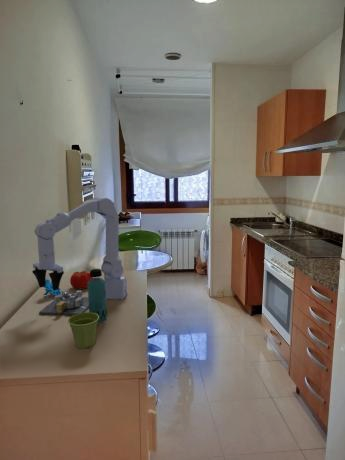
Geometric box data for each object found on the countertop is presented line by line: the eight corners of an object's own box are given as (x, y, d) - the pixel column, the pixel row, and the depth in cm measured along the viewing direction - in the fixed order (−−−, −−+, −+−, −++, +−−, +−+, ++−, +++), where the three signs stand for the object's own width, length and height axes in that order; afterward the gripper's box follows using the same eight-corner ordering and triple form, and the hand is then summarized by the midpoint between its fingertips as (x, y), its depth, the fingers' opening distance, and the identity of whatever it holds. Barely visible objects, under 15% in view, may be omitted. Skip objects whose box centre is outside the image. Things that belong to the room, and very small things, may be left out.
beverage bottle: (91, 329, 115) (88, 273, 112) (87, 322, 121) (84, 269, 118) (110, 325, 118) (107, 270, 115) (104, 318, 124) (102, 266, 121)
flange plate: (96, 299, 143) (96, 297, 143) (81, 315, 127) (80, 313, 126) (59, 298, 145) (59, 296, 145) (39, 314, 129) (39, 311, 129)
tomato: (98, 285, 162) (97, 271, 161) (81, 292, 153) (80, 276, 152) (83, 282, 168) (82, 268, 167) (65, 288, 159) (64, 273, 158)
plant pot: (93, 352, 99) (92, 325, 98) (64, 350, 101) (62, 323, 100) (104, 338, 109) (103, 313, 107) (77, 336, 110) (76, 311, 109)
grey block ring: (87, 299, 141) (86, 289, 140) (72, 312, 126) (72, 302, 126) (62, 298, 142) (61, 288, 141) (45, 312, 128) (44, 301, 127)
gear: (55, 296, 143) (40, 280, 144) (46, 306, 144) (31, 289, 145) (66, 291, 154) (52, 276, 155) (58, 300, 155) (43, 284, 156)
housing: (78, 304, 138) (77, 292, 138) (73, 309, 133) (72, 297, 132) (65, 304, 139) (65, 292, 138) (59, 309, 134) (58, 296, 133)
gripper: (25, 254, 127) (28, 288, 129) (51, 258, 120) (54, 294, 122) (40, 250, 133) (42, 283, 135) (66, 254, 126) (68, 288, 128)
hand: (49, 288), depth 129 cm, fingers open, 7 cm apart
